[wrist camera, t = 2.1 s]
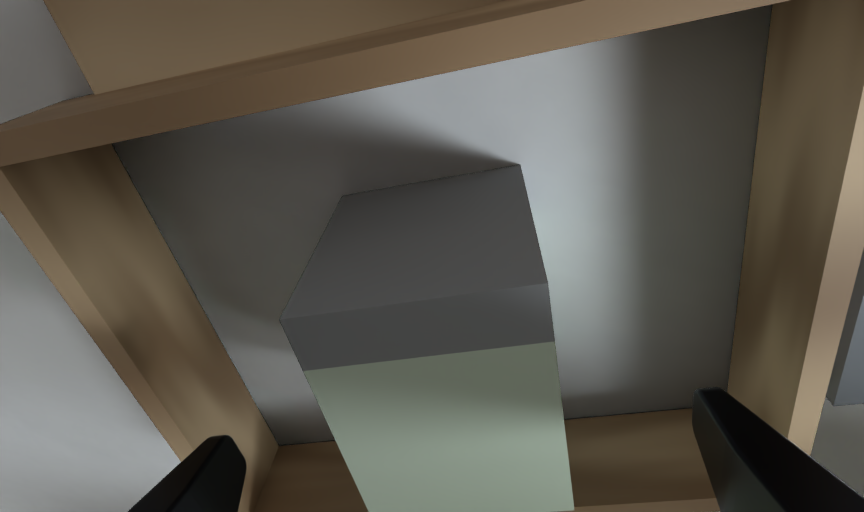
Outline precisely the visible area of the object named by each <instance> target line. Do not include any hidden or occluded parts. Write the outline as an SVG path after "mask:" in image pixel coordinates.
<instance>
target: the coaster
mask: <svg viewBox="0 0 864 512" xmlns="http://www.w3.org/2000/svg"><path fill="white" fill-rule="evenodd" d="M826 397H827V399H828V400H829V401H830V402H831V404H832V405H833V406H840V405H852V404H863V403H864V248H863V252H862V256H861V260H860V264H859V268H858V272H857V276H856V280H855V284H854V287H853V291H852V295H851V299H850V303H849V307H848V311H847V315H846V319H845V322H844V326H843V330H842V334H841V338H840V342H839V346H838V350H837V354H836V358H835V361H834V365H833V369H832V373H831V377H830V381H829V385H828V389H827V393H826Z"/></svg>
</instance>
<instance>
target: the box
mask: <svg viewBox="0 0 864 512" xmlns="http://www.w3.org/2000/svg"><path fill="white" fill-rule="evenodd" d="M279 321H280V323H281V325H282V327H283V329H284V331H285V333H286V336H287V338H288V340H289V342H290V344H291V346H292V348H293V351H294V353H295V355H296V357H297V359H298V361H299V363H300V366H301V368H302V370H303V372H304V374H305V376H306V378H307V381H308V383H309V385H310V387H311V389H312V391H313V393H314V396H315V398H316V400H317V402H318V404H319V406H320V408H321V411H322V413H323V415H324V417H325V419H326V421H327V423H328V426H329V428H330V430H331V432H332V434H333V436H334V438H335V441H336V443H337V445H338V447H339V449H340V451H341V453H342V456H343V458H344V460H345V462H346V464H347V466H348V469H349V471H350V473H351V475H352V477H353V479H354V481H355V484H356V486H357V488H358V490H359V492H360V494H361V496H362V499H363V501H364V503H365V505H366V507H367V509H368V511H369V512H557V511H572V510H574V501H573V493H572V484H571V476H570V467H569V459H568V450H567V442H566V433H565V425H564V416H563V407H562V399H561V390H560V382H559V373H558V365H557V356H556V348H555V339H554V331H553V322H552V313H551V305H550V296H549V288H548V281H547V277H546V273H545V268H544V264H543V260H542V255H541V251H540V247H539V243H538V238H537V234H536V230H535V226H534V221H533V217H532V213H531V208H530V204H529V200H528V196H527V191H526V187H525V183H524V179H523V174H522V170H521V166H520V165H516V166H510V167H504V168H499V169H493V170H487V171H482V172H476V173H470V174H464V175H459V176H453V177H447V178H442V179H436V180H430V181H425V182H419V183H413V184H408V185H402V186H396V187H390V188H385V189H379V190H373V191H368V192H362V193H356V194H351V195H345V196H342V198H341V200H340V202H339V204H338V206H337V208H336V209H335V211H334V213H333V215H332V217H331V219H330V221H329V223H328V225H327V227H326V229H325V231H324V233H323V235H322V237H321V239H320V241H319V243H318V245H317V247H316V249H315V251H314V253H313V254H312V256H311V258H310V260H309V262H308V264H307V266H306V268H305V270H304V272H303V274H302V276H301V278H300V280H299V282H298V284H297V286H296V288H295V290H294V292H293V294H292V296H291V297H290V299H289V301H288V303H287V305H286V307H285V309H284V311H283V313H282V315H281V317H280V319H279Z"/></svg>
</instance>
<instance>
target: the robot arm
mask: <svg viewBox="0 0 864 512" xmlns="http://www.w3.org/2000/svg"><path fill="white" fill-rule="evenodd" d="M692 427H693V431H694V435H695V438H696V441H697V444H698V447H699V450H700V452H701V455H702V458H703V461H704V464H705V467H706V470H707V473H708V476H709V479H710V482H711V485H712V488H713V491H714V494H715V496H716V499H717V502H718V505H719V508H720V511H721V512H864V497H862V496H861V495H860V494H858V493H857V492H856V491H855V490H853V489H852V488H851V487H849V486H848V485H847V484H846V483H844V482H843V481H842V480H840V479H839V478H838V477H836V476H835V475H834V474H833V473H831V472H830V471H829V470H827V469H826V468H825V467H823V466H822V465H821V464H820V463H818V462H817V461H816V460H814V459H813V458H812V457H810V456H809V455H808V454H807V453H805V452H804V451H803V450H801V449H800V448H799V447H797V446H796V445H795V444H794V443H792V442H791V441H790V440H788V439H787V438H786V437H784V436H783V435H782V434H781V433H779V432H778V431H777V430H775V429H774V428H773V427H772V426H770V425H769V424H768V423H766V422H765V421H764V420H762V419H761V418H760V417H759V416H757V415H756V414H755V413H753V412H752V411H751V410H749V409H748V408H747V407H746V406H744V405H743V404H742V403H740V402H739V401H738V400H736V399H735V398H734V397H733V396H731V395H730V394H729V393H727V392H726V391H725V390H723V389H721V388H718V387H713V388H702V389H697V390H696V391H695V392H694V396H693V410H692ZM246 470H247V465H246V460H245V458H244V456H243V454H242V453H241V451H240V449H239V448H238V446H237V445H236V443H235V441H234V440H233V438H232V437H231V436H229V435H218V436H211V437H209V438H207V439H206V440H205V441H204V442H202V443H201V444H200V445H199V446H198V447H197V448H196V449H195V450H194V451H193V452H192V453H191V454H189V455H188V456H187V457H186V458H185V459H184V460H183V461H182V462H181V463H180V464H179V465H178V466H176V467H175V468H174V469H173V470H172V471H171V472H170V473H169V474H168V475H167V476H166V477H165V478H163V479H162V480H161V481H160V482H159V483H158V484H157V485H156V486H155V487H154V488H153V489H152V490H150V491H149V492H148V493H147V494H146V495H145V496H144V497H143V498H142V499H141V500H140V501H139V502H137V503H136V504H135V505H134V506H133V507H132V508H131V509H130V510H129V511H128V512H238V509H239V504H240V499H241V495H242V490H243V485H244V481H245V476H246Z"/></svg>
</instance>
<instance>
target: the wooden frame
mask: <svg viewBox="0 0 864 512" xmlns="http://www.w3.org/2000/svg"><path fill="white" fill-rule="evenodd" d="M43 1H44V3H45V5H46V6H47V8H48V10H49V12H50V14H51V16H52V17H53V19H54V21H55V23H56V25H57V27H58V28H59V30H60V32H61V34H62V36H63V38H64V39H65V41H66V43H67V45H68V47H69V49H70V50H71V52H72V54H73V56H74V58H75V60H76V61H77V63H78V65H79V67H80V69H81V71H82V73H83V74H84V76H85V78H86V80H87V82H88V84H89V85H90V87H91V89H92V91H93V93H94V94H91V95H86V96H82V97H78V98H73V99H69V100H65V101H61V102H58V103H56V104H53V105H50V106H48V107H45V108H42V109H40V110H37V111H34V112H32V113H29V114H26V115H24V116H21V117H18V118H16V119H13V120H10V121H8V122H5V123H2V124H0V211H1V213H2V214H3V215H4V217H5V218H6V220H7V221H8V222H9V224H10V225H11V226H12V228H13V229H14V231H15V232H16V233H17V235H18V236H19V238H20V239H21V240H22V242H23V243H24V244H25V246H26V247H27V249H28V250H29V251H30V253H31V254H32V256H33V257H34V258H35V260H36V261H37V263H38V264H39V265H40V267H41V268H42V269H43V271H44V272H45V274H46V275H47V276H48V278H49V279H50V281H51V282H52V283H53V285H54V286H55V287H56V289H57V290H58V292H59V293H60V294H61V296H62V297H63V299H64V300H65V301H66V303H67V304H68V305H69V307H70V308H71V310H72V311H73V312H74V314H75V315H76V317H77V318H78V319H79V321H80V322H81V324H82V325H83V326H84V328H85V329H86V330H87V332H88V333H89V335H90V336H91V337H92V339H93V340H94V342H95V343H96V344H97V346H98V347H99V348H100V350H101V351H102V353H103V354H104V355H105V357H106V358H107V360H108V361H109V362H110V364H111V365H112V366H113V368H114V369H115V371H116V372H117V373H118V375H119V376H120V378H121V379H122V380H123V382H124V383H125V385H126V386H127V387H128V389H129V390H130V391H131V393H132V394H133V396H134V397H135V398H136V400H137V401H138V403H139V404H140V405H141V407H142V408H143V409H144V411H145V412H146V414H147V415H148V416H149V418H150V419H151V421H152V422H153V423H154V425H155V426H156V428H157V429H158V430H159V432H160V433H161V434H162V436H163V437H164V439H165V440H166V441H167V443H168V444H169V446H170V447H171V448H172V450H173V451H174V452H175V454H176V455H177V457H178V458H179V459H180V461H181V462H182V461H183V460H184V459H185V458H186V457H187V456H188V455H189V454H191V453H192V452H193V451H194V450H195V449H196V448H197V447H198V446H199V445H200V444H201V443H202V442H204V441H205V440H206V439H207V438H209V437H211V436H218V435H229V436H231V437H232V438H233V440H234V441H235V443H236V445H237V446H238V448H239V449H240V451H241V453H242V454H243V456H244V458H245V460H246V465H247V470H246V476H245V481H244V485H243V490H242V495H241V499H240V504H239V509H238V512H369V511H368V509H367V507H366V505H365V503H364V501H363V499H362V496H361V494H360V492H359V490H358V488H357V486H356V484H355V481H354V479H353V477H352V475H351V473H350V471H349V469H348V466H347V464H346V462H345V460H344V458H343V456H342V453H341V451H340V449H339V447H338V445H337V443H336V441H329V442H318V443H307V444H296V445H285V446H279V445H278V444H277V442H276V440H275V438H274V436H273V435H272V433H271V431H270V429H269V427H268V426H267V424H266V422H265V420H264V418H263V417H262V415H261V413H260V411H259V409H258V408H257V406H256V404H255V402H254V400H253V399H252V397H251V395H250V393H249V391H248V390H247V388H246V386H245V384H244V382H243V381H242V379H241V377H240V375H239V373H238V372H237V370H236V368H235V366H234V364H233V363H232V361H231V359H230V357H229V355H228V354H227V352H226V350H225V348H224V346H223V345H222V343H221V341H220V339H219V337H218V336H217V334H216V332H215V330H214V328H213V327H212V325H211V323H210V321H209V319H208V318H207V316H206V314H205V312H204V310H203V309H202V307H201V305H200V303H199V301H198V300H197V298H196V296H195V294H194V292H193V291H192V289H191V287H190V285H189V283H188V282H187V280H186V278H185V276H184V274H183V273H182V271H181V269H180V267H179V265H178V264H177V262H176V260H175V258H174V256H173V255H172V253H171V251H170V249H169V247H168V246H167V244H166V242H165V240H164V238H163V237H162V235H161V233H160V231H159V229H158V228H157V226H156V224H155V222H154V220H153V219H152V217H151V215H150V213H149V211H148V210H147V208H146V206H145V204H144V202H143V201H142V199H141V197H140V195H139V193H138V192H137V190H136V188H135V186H134V184H133V183H132V181H131V179H130V177H129V175H128V174H127V172H126V170H125V168H124V166H123V165H122V163H121V161H120V159H119V157H118V156H117V154H116V152H115V150H114V148H113V147H112V145H111V143H115V142H120V141H125V140H130V139H134V138H139V137H144V136H149V135H153V134H158V133H163V132H168V131H172V130H177V129H182V128H187V127H191V126H196V125H201V124H206V123H210V122H215V121H220V120H225V119H229V118H234V117H239V116H244V115H248V114H253V113H258V112H263V111H267V110H272V109H277V108H282V107H286V106H291V105H296V104H301V103H305V102H310V101H315V100H319V99H324V98H329V97H334V96H338V95H343V94H348V93H353V92H357V91H362V90H367V89H372V88H376V87H381V86H386V85H391V84H395V83H400V82H405V81H410V80H414V79H419V78H424V77H429V76H433V75H438V74H443V73H448V72H452V71H457V70H462V69H467V68H471V67H476V66H481V65H486V64H490V63H495V62H500V61H505V60H509V59H514V58H519V57H524V56H528V55H533V54H538V53H543V52H547V51H552V50H557V49H562V48H566V47H571V46H576V45H581V44H585V43H590V42H595V41H600V40H604V39H609V38H614V37H619V36H623V35H628V34H633V33H638V32H642V31H647V30H652V29H657V28H661V27H666V26H671V25H676V24H680V23H685V22H690V21H695V20H699V19H704V18H709V17H714V16H718V15H723V14H728V13H733V12H737V11H742V10H747V9H752V8H756V7H761V6H766V5H770V4H772V13H771V21H770V30H769V38H768V47H767V55H766V64H765V72H764V81H763V90H762V98H761V107H760V115H759V124H758V132H757V141H756V149H755V158H754V166H753V175H752V184H751V192H750V201H749V209H748V218H747V226H746V235H745V243H744V252H743V261H742V269H741V278H740V286H739V295H738V303H737V312H736V320H735V329H734V338H733V346H732V355H731V363H730V372H729V380H728V389H727V393H729V394H730V395H731V396H733V397H734V398H735V399H736V400H738V401H739V402H740V403H742V404H743V405H744V406H746V407H747V408H748V409H749V410H751V411H752V412H753V413H755V414H756V415H757V416H759V417H760V418H761V419H762V420H764V421H765V422H766V423H768V424H769V425H770V426H772V427H773V428H774V429H775V430H777V431H778V432H779V433H781V434H782V435H783V436H784V437H786V438H787V439H788V440H790V441H791V442H792V443H794V444H795V445H796V446H797V447H799V448H800V449H801V450H803V451H804V452H805V453H807V454H808V455H809V456H810V455H811V451H812V447H813V443H814V439H815V435H816V431H817V428H818V424H819V420H820V416H821V412H822V408H823V404H824V400H825V396H826V393H827V389H828V385H829V381H830V377H831V373H832V369H833V365H834V361H835V358H836V354H837V350H838V346H839V342H840V338H841V334H842V330H843V326H844V322H845V319H846V315H847V311H848V307H849V303H850V299H851V295H852V291H853V287H854V284H855V280H856V276H857V272H858V268H859V264H860V260H861V256H862V252H863V248H864V0H43ZM692 410H693V408H689V409H678V410H667V411H656V412H646V413H635V414H624V415H613V416H602V417H591V418H580V419H569V420H564V425H565V433H566V442H567V450H568V459H569V467H570V476H571V484H572V493H573V501H574V510H572V511H557V512H715V511H720V508H719V505H718V502H717V499H716V496H715V494H714V491H713V488H712V485H711V482H710V479H709V476H708V473H707V470H706V467H705V464H704V461H703V458H702V455H701V452H700V450H699V447H698V444H697V441H696V438H695V435H694V431H693V427H692Z"/></svg>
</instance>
